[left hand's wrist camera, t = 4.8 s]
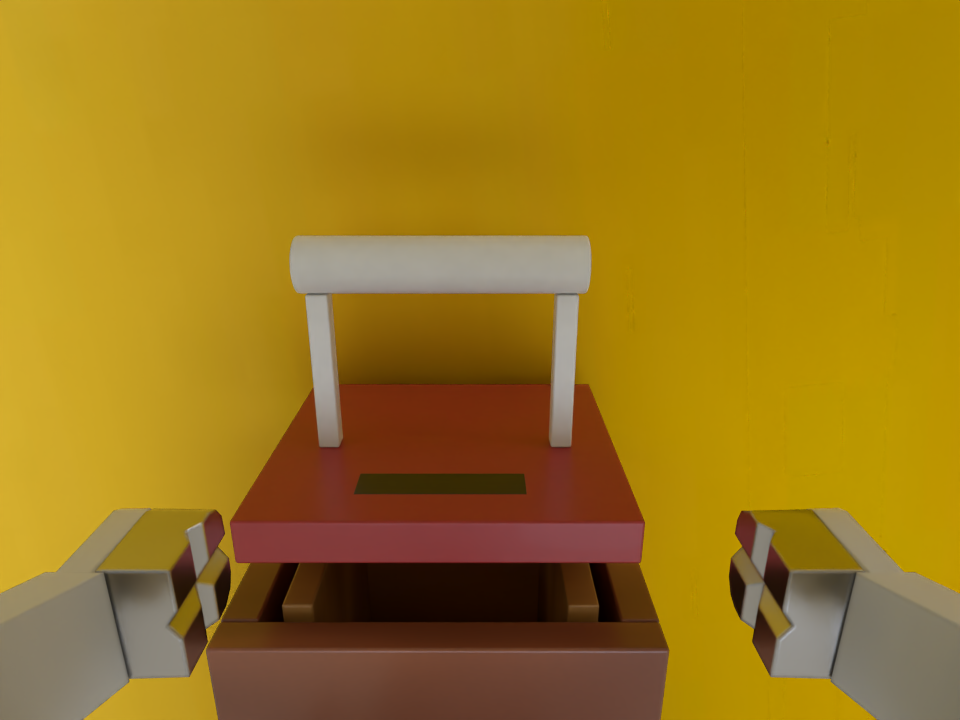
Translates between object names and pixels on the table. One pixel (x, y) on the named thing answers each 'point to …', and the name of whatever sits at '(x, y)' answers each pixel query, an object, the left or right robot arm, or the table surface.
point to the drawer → (441, 458)
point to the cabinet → (439, 661)
